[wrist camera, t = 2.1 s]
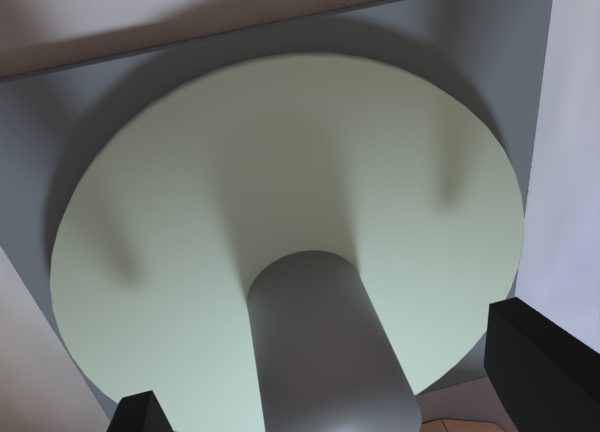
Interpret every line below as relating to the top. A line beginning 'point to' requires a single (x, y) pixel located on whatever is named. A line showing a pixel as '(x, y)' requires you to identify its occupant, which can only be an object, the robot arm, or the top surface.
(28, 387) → the top surface
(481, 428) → the bowl
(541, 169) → the top surface
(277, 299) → the lid
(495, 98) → the mat
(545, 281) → the top surface
